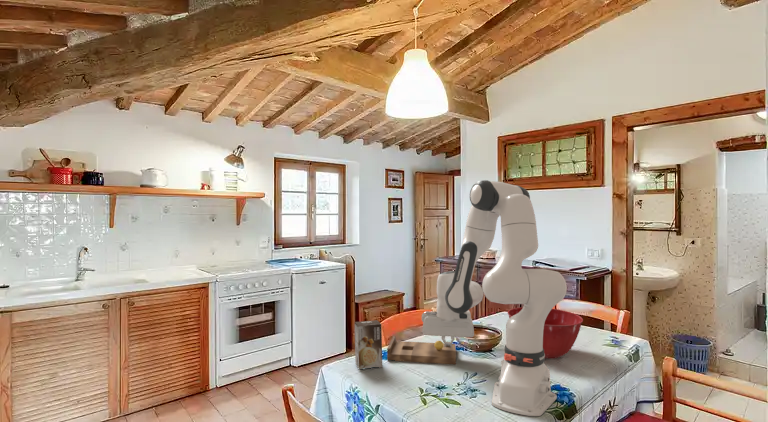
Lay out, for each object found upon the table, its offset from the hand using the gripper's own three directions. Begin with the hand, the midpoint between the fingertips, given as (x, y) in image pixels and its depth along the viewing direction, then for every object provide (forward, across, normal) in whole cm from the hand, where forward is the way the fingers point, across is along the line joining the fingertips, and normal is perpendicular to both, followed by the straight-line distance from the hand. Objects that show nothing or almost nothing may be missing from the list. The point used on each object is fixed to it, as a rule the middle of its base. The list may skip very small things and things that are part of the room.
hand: (448, 346), depth 161 cm
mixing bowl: (+4, +38, +10) cm, 40 cm away
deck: (+4, -10, 0) cm, 11 cm away
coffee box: (+4, -29, -15) cm, 33 cm away
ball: (-1, -4, 0) cm, 4 cm away
